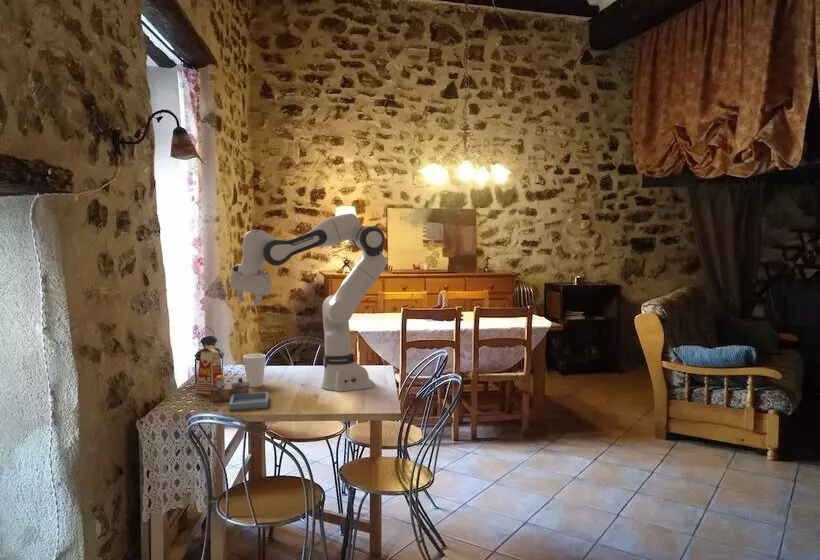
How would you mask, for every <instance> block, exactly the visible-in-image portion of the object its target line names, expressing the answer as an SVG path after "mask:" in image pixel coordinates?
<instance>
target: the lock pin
mask: <svg viewBox="0 0 820 560" xmlns="http://www.w3.org/2000/svg"><path fill="white" fill-rule="evenodd" d="M223 379H224V375H223V376H222V375H218V376H216V382H217V388H223Z"/></svg>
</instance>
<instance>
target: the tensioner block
mask: <svg viewBox="0 0 820 560" xmlns="http://www.w3.org/2000/svg"><path fill="white" fill-rule="evenodd" d="M241 393H250V387H249V380H247V379H243V378H242V377H238V379H236V380H233V381H231V383H224V384H223V388H217V385H213V386H212V389H211V394H210V401H211V402H213V401H212V400H223V401H230V400H231V396H232V394H241Z"/></svg>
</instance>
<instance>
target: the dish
mask: <svg viewBox="0 0 820 560" xmlns="http://www.w3.org/2000/svg"><path fill="white" fill-rule="evenodd" d="M269 398H270V397H269V391H261V392H249V393H241V394H232V396H231V400H229V404H228V407H229V408H228V410H229V412H230V411H231V410H232V411H243V410H258V409H257V408H262V409H269Z"/></svg>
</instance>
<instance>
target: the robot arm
mask: <svg viewBox="0 0 820 560" xmlns="http://www.w3.org/2000/svg"><path fill="white" fill-rule="evenodd" d="M350 240H351V241H352V243H353V244H354V246H355V247H356V248H357V249H358V250H360V251H362V256H361V258H360V259H359V260H358V262H357V263H356V264H355V266H354V267H353V268H352V269H351V270H350V272H349V273H348V274H347V275H346V277H345V278H344V279H343V281H342V283H341V285H340V286H339V288H338V289H337V291H336V292H335V293H334V294H330V295H329V296H327V297H326V298H325V299H324V300H323V302H322V305H321V306H322V307H321V308H322V323H323V324H322V325H323V334H324V354H323V367H324V369H323V370H324V371H323V379H322V384H321V388H322V389H325V390H329V391H335V392H340V393H341V392H350V391H357V390H366V389H372V388H374V387H375V382H374V381H373V380H372V379H370V376H369V373H368V370H367V369H366V368H365V367H364V366H362V365H361V364H360V363H358V362H356V361H357V360H358V356H357V355H356V354H354V353H353V352H351V351H352V349H351V346H352V345H351V331H350V322H349V320H351V318H352V316H353V315H354V313H355V312H356V310H357V309H358V307H359V306H360V304H361V302H362V300H363V298H364V297H365V296H366V294H367V293H368V292H369V290H370V289H371V288H372V287H373V286H374V284H375V283H376V282H377V280H378V279H379V278H380V276H381V274H382V273H383V272H384V269H385V268H386V266H387V262H388V261H387V259H386V256H385V255H384V247H385V244H386V243H385V241H386V237H385V233H384V232H383V231H382V229H381V228H379V227H377V226H375V225H373V226H372V225H362V224H361V222H360V219H359V218H358V217H357V215H356V214H354V213H347V214H346V213H345V214H340V215H336V216H333V217H329V218H327V219H324V220H323V221H321V222H318V223H317V224H316V225H314V227H313V228H312V229H310V231H308V232H306V233H304V234H301V235H299V236H296V237H294V238H290V239H287V240H281V239H276V238H275V237H273V236H271V235H269V234H268V233H267V232H266V231H265V230H263V229H254V230H249V231H247V232H246V233H245V234H244V236H243V241H242V249H241V252H242V257H241V262H240V263H239V264H237V265H233V266H232V267H231V271H232V273H231V275H230V288H231V289H232V290H236V294H237V297H238V302H242V303H244V302H245V297H244V296H243V295H244V294H243V293H244V292H246V293H251V294H256V299H254V306H255V305H256V306H260V305H261V301H262V299H263V296H264V295H265V296H269V295H270V293H271V291H272V290H271V289H272V288H271V287H272V284H271V275H270V273H269V272H268V271H264V263H265V261H266V262H267V264H269V265H271V266H276V267H277V266H281V265H284V264H285V263H286V262H288V261H289V260H290V259H291V257H293V256H294V255H295V256H296V255H297V254H300V253H303V252H306V251H308V250H311V249H315V248H323V247H330V246H335V245H337V244H340V243H343V242H345V241H350Z"/></svg>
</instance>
